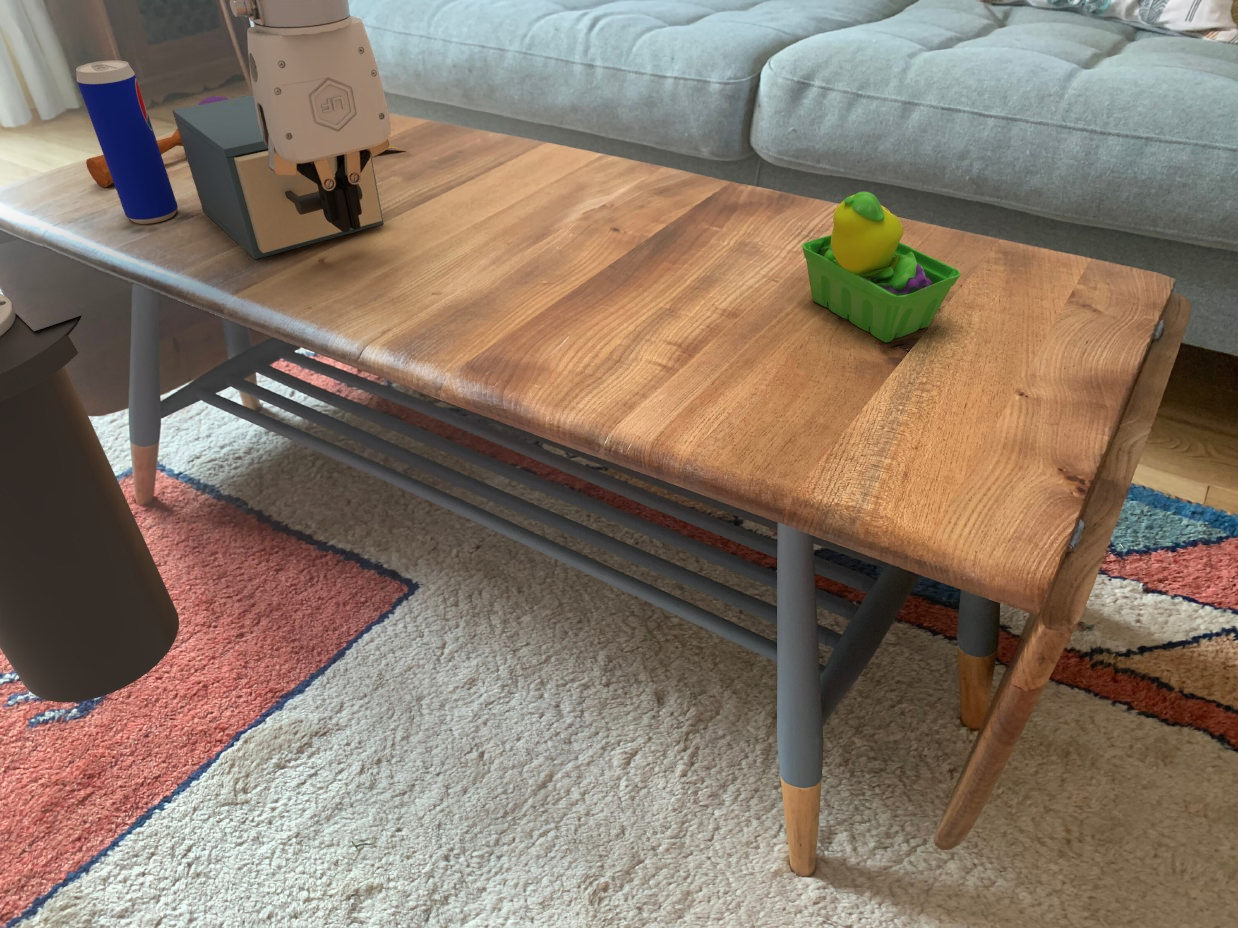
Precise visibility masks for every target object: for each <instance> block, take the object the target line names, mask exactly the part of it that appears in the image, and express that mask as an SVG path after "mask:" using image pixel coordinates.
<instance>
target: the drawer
mask: <svg viewBox="0 0 1238 928" xmlns="http://www.w3.org/2000/svg"><path fill="white" fill-rule="evenodd" d="M252 153H253V154H252ZM327 160H328V163H329V165H330V168H331V171H332V173H333V176H334V177H335V173H336V172H335V162H334V157H330V158H327ZM234 161H235V165H236V168H237V172H238V176H239V179H240V183H241V187H242V190H243V194H244V197H245V201H246V205H247V208H248V212H249V216H250V219H251V223H252V227H253V230H254V234H255V237H256V241H257V245H258V248H259V250H260V251H261V252H262V253H266V252H269V251H273V250H277V249H280V248H284V247H288V246H291V245H295V244H299V243H302V242H306V241H310V240H313V239H317V238H321V237H324V236H328V235H332V234H335V233H339V232H342V231H341V230H339V229H338V228H337V227H335V226H334V225H332V224H331V223H330V222H328V221H327V220H326V218H325V216H324V212H323V208H322V203H321V199H320V194H319V190H318V185H317V184H316V183H314V182H313V181H311V180H310V179H308V178H307V177H305V176H303V175H277V174H276V173H274V172H273V171H272V170H270V168H269V159H268V151H264V152H259V153H256V152H251V153H246V154H242V155H237V156H235V158H234ZM373 168H374V167H373ZM373 168H372V163H371V158H370V159H369V161H368V162H367V164H366V166H365V167H364V169H363V171H362V172H361V179H360V182H359V183H357V189H358V194H359V199H360V204H361V210H362V214H361V215H359V220H360V226H365V225H368V224H372V223H375V222H379V221H382V218H381V212H382V211H381V212H380V207H381V206H380V207H379V201H380V200H379V201H378V196H379V195H378V196H377V190H378V189H377V190H376V185H377V184H376V185H375V179H376V178H375V179H374V174H375V173H374V174H373ZM351 229H352V228H351Z"/></svg>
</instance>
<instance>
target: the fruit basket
mask: <svg viewBox="0 0 1238 928" xmlns="http://www.w3.org/2000/svg"><path fill="white" fill-rule="evenodd" d="M832 222H833V227H832V231H831V234H828V235H826V236H825V235H824V236H822V237H818V238H814V239H811V240H808V241H806V242H804V243H802V244H801V248H802V253H803V256H804V259H805V261H806V267H807V273H808V279H809V280H808V281H809V287H810V293H811V298H812V301H813V302H815V303H817V304H818V305H820V306H822V307H824V308H827V309H829V310H830V311H831V312H832V313H833V314H835V315H837V316H839V317H840V318H842V319H845V320H848V321H849V322H850V323H851V324H852V325H855V326H856V327H858V328H859V329H861V330H863V331H865V332H867V333H870V334H871V335H872V336H873V337H875V338H877V339H878V340H879V341H882V342H883V343H890V342H892V341H893V340H894V339H899V338H903V337H905V336H908V335H911V334H913V333H915V332H918V330H919V329H926V328H929V327H930V326H931V323H932V322H933V320H934V318H935V317H936V315H937V313H938V312H939V309H940V307H941V306H942V304H943V303H944V301H945V299H946V297H947V295H948V293H949V292H950V290H951V289H952V287H954V286H955V284H956V283H957V281H958V279H959V278H960V276H961V273H962V272H961V271H959V269H957V268H955V267H953V266H952V265H950V264H947V263H945V262H943V261H941V260H939V259H937V258H934V257H932V256H930V255H928V254H925V253H923V252H921V251H920V250H917V249H915V248H912V247H911V246H909V245H907V244H904V243H902V242H901V239H902V237H903V235H904V227H903V224H902V222H901V220H900V219H899V217H898V216H897V215H895V214H894V213H891V211H890V210H889V209H888V208H886V207H885V206H883V205H881V202H880V200H879V199H878V198H877V197H876V196H875V194H873V193H872V192H869V191H858V192H856V193H855V194H853V195H849V196H847V197H846V198H845V199H844V200H842V201H841V202H840V203H839V205H838V206H837V207H836V208H835V210H834V213H833V220H832Z"/></svg>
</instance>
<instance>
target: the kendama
mask: <svg viewBox="0 0 1238 928" xmlns="http://www.w3.org/2000/svg"><path fill="white" fill-rule="evenodd" d="M229 99H230V98H228V97H226V96H219V95H212V96H209V97H207V98H204V99H202V100H201V101H200V102H199V103H198V104H197V105H202V104H207V103H212V102H218V101H223V100H229ZM156 140H157V139H156ZM157 144H158V147H159V150H160V153H161V156H163V155H164V154H165V153H167V152H169V151H170V150H172V149H173V148H175V147H183V144H182V141H181V137H180V134H179V131H178V128H176V130H175V132H173V134H172V135H171V136H169V137H165V138H162V139H158V140H157ZM85 165H86V168H87V171H88V173H89V174H90V176H91V178H92V179H93V180H94V182H95V183H97V184H98V185H99V186H100V187H101V188H107V187H109V186H110V185H112V184H114V182H113V179H112V177H111V174H110V171H109V168H108V166H107V163H106V160H105V157H104V155H103V154H101V155H97V156H94V157H90V158H88V159H86V163H85Z"/></svg>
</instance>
